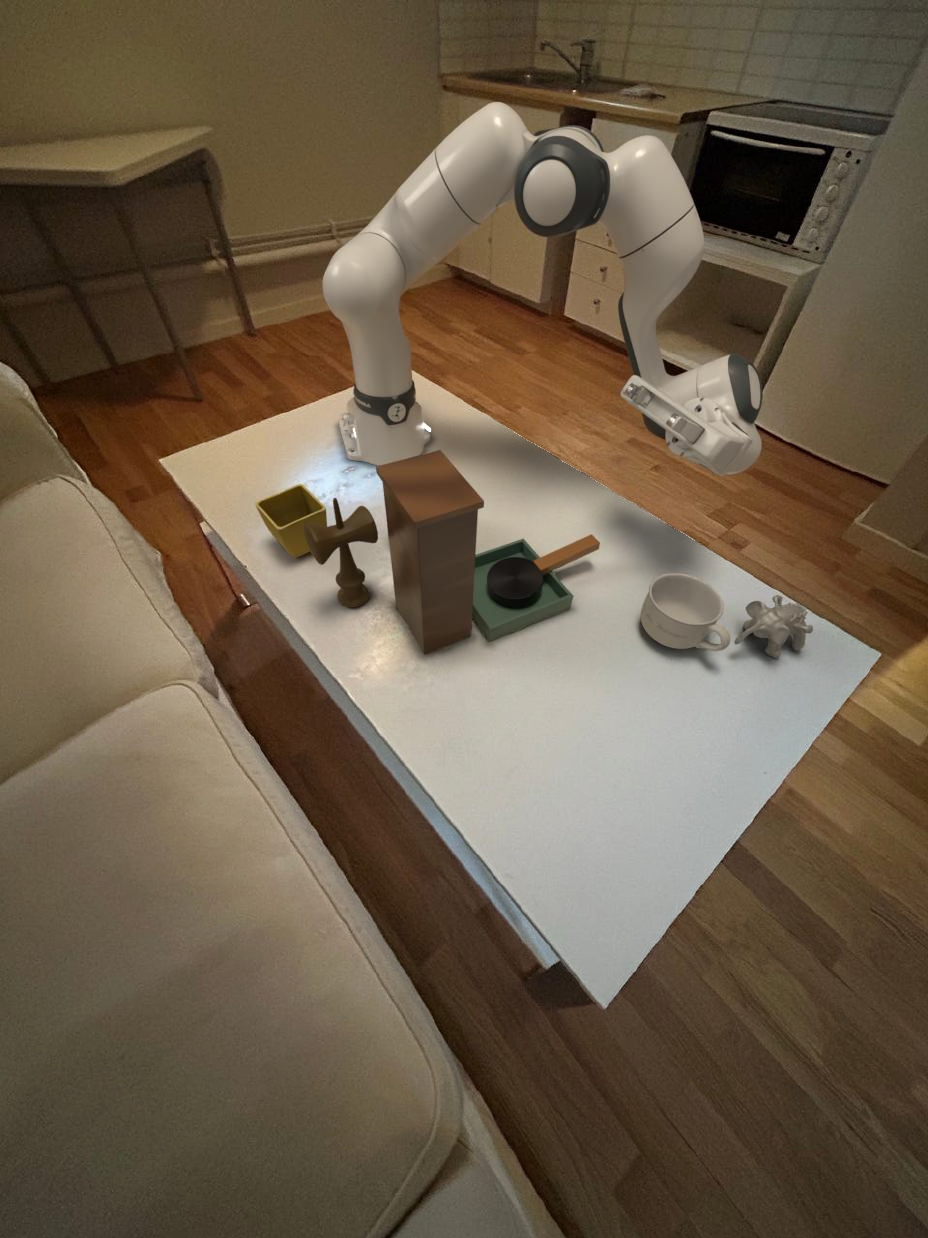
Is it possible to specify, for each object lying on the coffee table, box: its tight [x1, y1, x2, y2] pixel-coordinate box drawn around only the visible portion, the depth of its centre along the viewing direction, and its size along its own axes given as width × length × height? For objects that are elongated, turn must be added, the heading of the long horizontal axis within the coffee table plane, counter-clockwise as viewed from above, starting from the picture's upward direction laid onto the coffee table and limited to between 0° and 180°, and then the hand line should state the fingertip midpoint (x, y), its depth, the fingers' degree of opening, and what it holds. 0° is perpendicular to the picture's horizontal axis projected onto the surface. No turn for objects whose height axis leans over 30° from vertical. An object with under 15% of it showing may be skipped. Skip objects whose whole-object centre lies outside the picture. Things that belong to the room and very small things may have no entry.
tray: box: [472, 538, 574, 642], centre depth 89 cm, size 15×15×3 cm
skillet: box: [487, 533, 601, 608], centre depth 89 cm, size 9×20×3 cm, turn 117°
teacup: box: [640, 572, 731, 652], centre depth 81 cm, size 14×11×8 cm
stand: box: [375, 449, 485, 655], centre depth 76 cm, size 12×9×26 cm
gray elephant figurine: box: [733, 594, 814, 659], centre depth 81 cm, size 9×12×8 cm
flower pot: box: [254, 483, 328, 559], centre depth 92 cm, size 9×9×9 cm
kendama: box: [303, 497, 379, 608], centre depth 81 cm, size 6×10×20 cm, turn 122°
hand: (649, 404), depth 74 cm, fingers open, 8 cm apart
